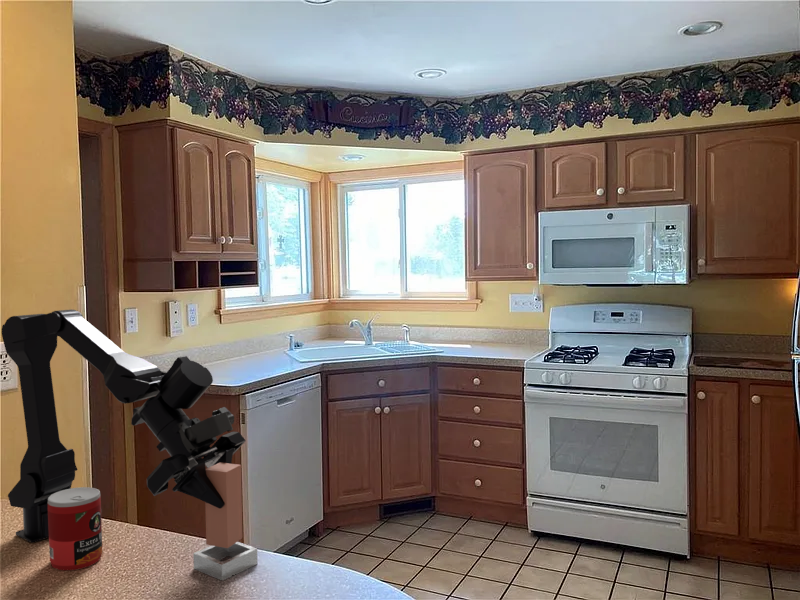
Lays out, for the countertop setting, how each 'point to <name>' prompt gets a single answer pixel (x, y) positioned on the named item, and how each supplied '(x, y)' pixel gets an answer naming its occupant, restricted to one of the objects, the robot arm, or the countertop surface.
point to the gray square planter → (239, 562)
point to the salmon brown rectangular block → (225, 506)
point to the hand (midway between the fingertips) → (231, 501)
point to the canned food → (75, 528)
